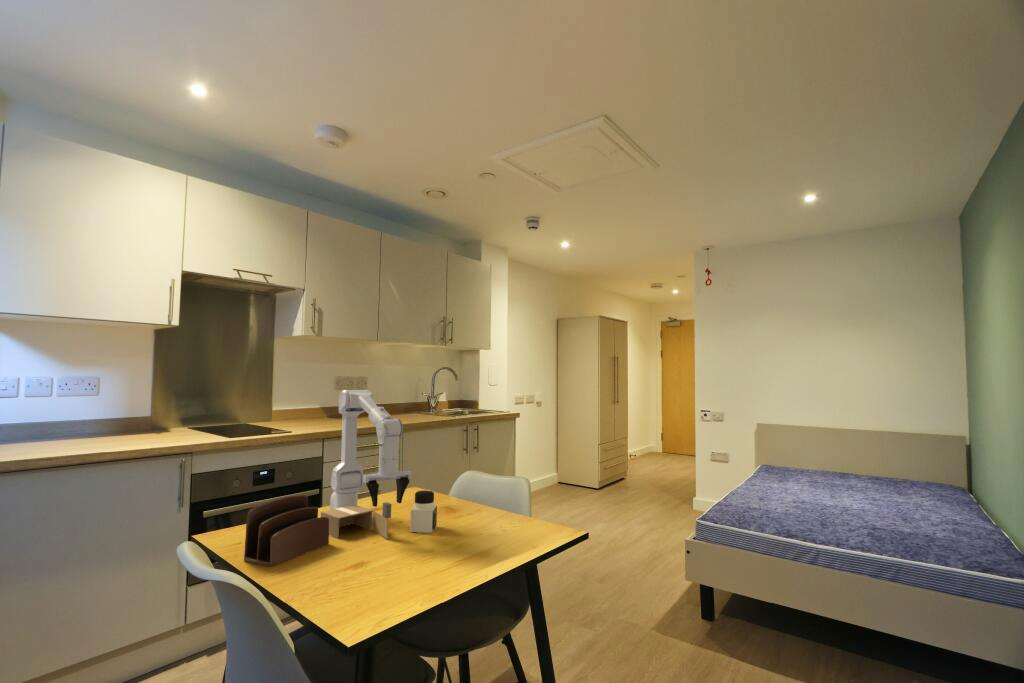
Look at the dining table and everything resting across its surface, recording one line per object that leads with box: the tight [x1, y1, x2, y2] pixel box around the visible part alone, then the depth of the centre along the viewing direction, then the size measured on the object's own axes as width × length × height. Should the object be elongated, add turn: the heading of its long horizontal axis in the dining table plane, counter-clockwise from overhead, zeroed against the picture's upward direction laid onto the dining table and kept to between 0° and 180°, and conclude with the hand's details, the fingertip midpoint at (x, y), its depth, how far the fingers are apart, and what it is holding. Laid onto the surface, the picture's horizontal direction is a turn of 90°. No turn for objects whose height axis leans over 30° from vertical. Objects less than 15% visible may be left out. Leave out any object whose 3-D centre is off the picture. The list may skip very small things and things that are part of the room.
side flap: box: [372, 501, 392, 540], centre depth 151 cm, size 2×12×10 cm, turn 36°
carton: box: [320, 504, 374, 539], centre depth 154 cm, size 10×12×6 cm
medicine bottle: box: [409, 489, 438, 534], centre depth 156 cm, size 7×7×12 cm
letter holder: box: [243, 494, 330, 568], centre depth 134 cm, size 10×20×14 cm, turn 156°
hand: (387, 504), depth 149 cm, fingers open, 7 cm apart
